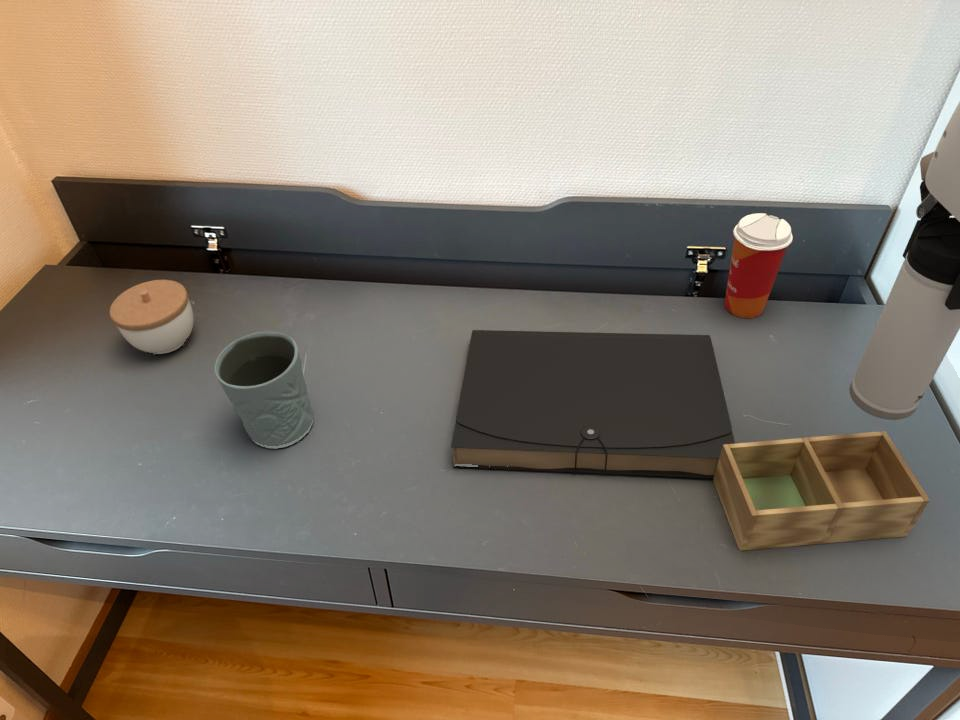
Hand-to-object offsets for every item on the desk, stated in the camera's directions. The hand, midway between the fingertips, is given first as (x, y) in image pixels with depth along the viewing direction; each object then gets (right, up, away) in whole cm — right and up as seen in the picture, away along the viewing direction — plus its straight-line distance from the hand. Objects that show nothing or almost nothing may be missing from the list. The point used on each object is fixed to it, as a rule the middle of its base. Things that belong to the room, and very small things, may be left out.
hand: (941, 279), depth 61 cm
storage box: (-4, -24, +18) cm, 30 cm away
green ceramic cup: (-67, -16, +32) cm, 75 cm away
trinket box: (-88, -4, +45) cm, 99 cm away
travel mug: (+1, -11, +10) cm, 15 cm away
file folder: (-26, -13, +31) cm, 43 cm away
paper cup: (-1, +1, +44) cm, 44 cm away
